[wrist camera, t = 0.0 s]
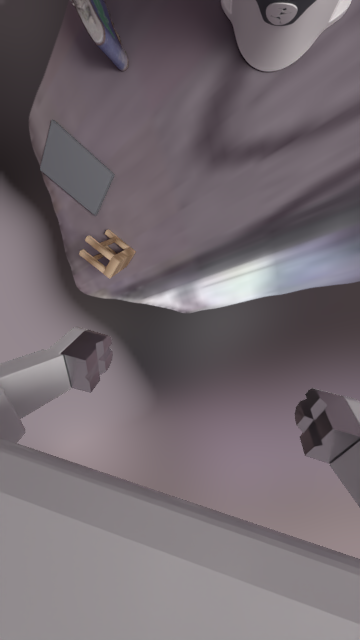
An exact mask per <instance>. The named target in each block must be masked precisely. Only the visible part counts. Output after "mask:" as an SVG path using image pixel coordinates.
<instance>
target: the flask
mask: <svg viewBox="0 0 360 640" xmlns="http://www.w3.org/2000/svg"><path fill="white" fill-rule="evenodd" d="M70 1H71V0H70ZM72 1H73V3H72V4H73V5H75V8H76V10H77V12H78V14H79V16H80V19H81V20H82V22H83V24H84V26H85V28H86V30H87V32H88V33H89V35H90V37H91V38H92V40H93V41H94V42H95V44H96V45H97V46H98V47H99V48H100V49H101V50H102V51H103V52H104V53H105V54H106V55H107V57H109V58H110V59H111V61H112V62H113V63H114V64H115V65H116V66H117V68H118V69H120V70H121V71H123V70H124V71H125V70H126V69H127V67H128V58H127V55H126V52H125V51H124V49H123V47H122V44H121V40H120V36H119V35H118V33H117V32H116V30H115V29H114V26H113V25H114V23H113V22H112V21H111V18H110V13H109V11H108V8H107V5H106V3H105V2H104V0H72Z"/></svg>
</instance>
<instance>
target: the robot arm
mask: <svg viewBox="0 0 360 640" xmlns="http://www.w3.org/2000/svg"><path fill="white" fill-rule="evenodd" d="M351 1H352V0H221V6H222V8H223V10H224V12H225V14H226V15H227V17H228V18H229V19H230V21H231V22H232V25H233V28H234V33H235V37H236V41H237V44H238V47H239V50H240V52H241V54H242V56H243V57H244V59H245V60H246V61H247V62H248V63H249V64H250V65H251V66H253V67H254V68H256V69H258V70H261V71H268V72H270V71H277V70H280V69H283V68H285V67H287V66H289V65H291V64H292V63H294V62H295V61H296V60H298V59H299V58H300V57H301V56H302V55H303V54H304V53H305V52H306V51H307V50H308V49H309V48H310V47H311V45H312V44H313V43H314V41H315V40H316V39H317V38H318V36H319V35H320V34H321V33H322V32H323V31H324V30H325V29H326V28H328V27H329V26H330V25H332V24H333V23H335V22H336V21H337V20H339V19H340V18H341V17H342V16H343V15H344V14H345V13H346V11H347V9H348V7H349V5H350V3H351ZM111 344H112V340H111V337H110V336H108V335H105V334H101V333H98V332H94V331H91V330H86V329H83V328H80V327H75V328H73V329H72V330H70V331H69V332H68V333H67V334H66V335H64V336H63V337H62V338H61V339H60V340H59V341H58V342H56V343H55V344H54V345H53V346H51V347H50V349H48V350H41V351H37V352H34V353H31V354H29V355H25V356H22V357H19V358H16V359H13V360H10V361H7V362H4V363H1V364H0V640H360V559H358V558H355V557H352V556H349V555H346V554H343V553H340V552H337V551H334V550H331V549H328V548H326V547H323V546H320V545H316V544H314V543H311V542H308V541H305V540H302V539H299V538H296V537H293V536H290V535H287V534H284V533H281V532H278V531H275V530H272V529H269V528H266V527H263V526H260V525H257V524H254V523H251V522H248V521H245V520H243V519H240V518H237V517H234V516H230V515H227V514H225V513H221V512H219V511H216V510H213V509H210V508H207V507H204V506H201V505H198V504H195V503H192V502H189V501H186V500H183V499H180V498H177V497H174V496H171V495H168V494H165V493H163V492H160V491H156V490H154V489H151V488H148V487H145V486H141V485H139V484H136V483H133V482H130V481H127V480H124V479H121V478H118V477H115V476H112V475H109V474H106V473H103V472H100V471H97V470H94V469H91V468H88V467H85V466H82V465H80V464H77V463H73V462H70V461H68V460H65V459H62V458H59V457H56V456H53V455H50V454H47V453H44V452H41V451H38V450H35V449H32V448H29V447H26V446H23V445H20V444H17V442H18V441H19V440H20V439H21V438H22V436H23V435H24V434H25V428H24V426H23V424H22V422H21V420H20V419H21V418H23V417H25V416H26V415H28V414H30V413H31V412H33V411H35V410H36V409H38V408H40V407H41V406H43V405H45V404H46V403H48V402H50V401H52V400H53V399H55V398H57V397H58V396H60V395H62V394H63V393H65V392H67V391H68V390H70V389H71V388H75V389H78V390H83V391H86V392H90V393H91V392H92V390H93V389H94V388H95V386H96V385H97V384H98V382H99V381H100V374H102V373H105V372H106V371H107V369H108V368H109V366H110V364H111V361H112V356H113V352H112V350H111V349H110V347H109V346H110V345H111ZM305 395H306V398H307V399H305V400H302V401H300V402H299V404H298V405H297V406H296V410H295V421H296V425H297V426H298V428H299V429H300V430H301V431H302V434H301V436H300V440H301V443H302V447H303V451H304V454H305V456H307V457H310V458H313V459H317V460H319V461H323V462H326V463H329V464H330V466H331V468H332V469H333V471H334V472H335V473H336V474H337V476H338V478H339V479H340V480H341V482H342V483H343V485H344V486H345V487H346V489H347V490H348V491H349V493H350V494H351V496H352V497H353V498H354V500H355V501H356V503H357V504H358V506H359V507H360V402H359V401H358V400H357V399H354V398H350V397H345V396H340V395H337V394H333V393H329V392H325V391H321V390H317V389H313V388H312V389H310V390H308V392H307V393H306V394H305Z"/></svg>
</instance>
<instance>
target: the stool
mask: <svg viewBox="0 0 360 640" xmlns="http://www.w3.org/2000/svg"><path fill="white" fill-rule="evenodd" d="M105 235H107V236H108V237H109V238H110V239H109V240H107V241H104V242H101V243H99V242H97V241H96V240H95V239H94V238H92V237H91V236H87V237H86V239H85V241H86V242H87V243H89V244H90V245H91V246H92V247H94V248H95V249H96V250H97V251H99V252H100V254H98V255H96V256H94V257H93V256H91V255H90V254H89V253H88V252H86V251H85V250H84V249H83V250H81V251H80V253H79V255H80V256H82V257H83V258H84V259H85V260H87V261H88V262H89V263H91V264H92V265H93V266H94V267H96V268H97V269H98V270H99V271H101V272H102V273H103V274H104V275H106V276H107V277H108V278H109V279H110V278H111V277H113V276H114V275H115V274H117V273H118V272H120V271H121V270H122V269H124V268H125V267H127V265H128V264H129V262H130V260H131V259H132V257H133V256H134V254H135V253H136V251H134V250H133V249H132V248H131V247H129V246H128V245H127V244H126V243H124V242H123V241H122V240H121V239H120V238H118V237H117V236H116V235H115V234H114V233H112V232H111V231H110V230H106V232H105ZM114 242H115V243H116V244H118V245H119V246H120V247H121V248H122V249H124V251H122V252H120V253H118V254H117V253H116V252H114V251H113V250H112V249H111V248H109V247H108V246H107V245H110V244H112V243H114ZM104 256H105V257H106V258H107V259H109V260H110V262H109V263H108V265H107V267H105V266H104V265H103V264H101V263H100V262H99V261H98V259H100V258H102V257H104Z"/></svg>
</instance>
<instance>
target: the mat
mask: <svg viewBox="0 0 360 640" xmlns="http://www.w3.org/2000/svg"><path fill="white" fill-rule="evenodd" d="M40 170H41V171H42V172H43V173H44V174H46V175H47V176H48V177H49V178H50V179H52V180H53V181H54V182H55V183H56V184H58V185H59V186H60V187H61V188H62V189H64V190H65V191H66V192H67V193H68V194H70V195H71V196H72V197H73V198H74V199H76V200H77V201H78V202H79V203H80V204H82V205H83V206H84V207H85V208H86V209H88V210H89V211H90V212H91V213H92V214H94V215H95V216H96V215H97V214H98V211H99V209H100V207H101V205H102V202H103V200H104V198H105V196H106V193H107V191H108V189H109V187H110V184H111V182H112V180H113V178H114V175H115V174H113V173H112V172H111V171H110V170H109V169H108V168H107V167H106V166H105V165H103V164H102V163H101V162H100V161H99V160H98V159H97V158H96V157H94V156H93V155H92V154H91V153H90V152H89V151H88V150H87V149H86V148H84V147H83V146H82V145H81V144H80V143H79V142H78V141H77V140H76V139H74V138H73V137H72V136H71V135H70V134H69V133H68V132H67V131H66V130H64V129H63V128H62V127H61V126H60V125H59V124H58V123H57V122H56V121H54V120H52V121H51V125H50V130H49V134H48V138H47V142H46V146H45V150H44V154H43V159H42V163H41V167H40Z"/></svg>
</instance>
